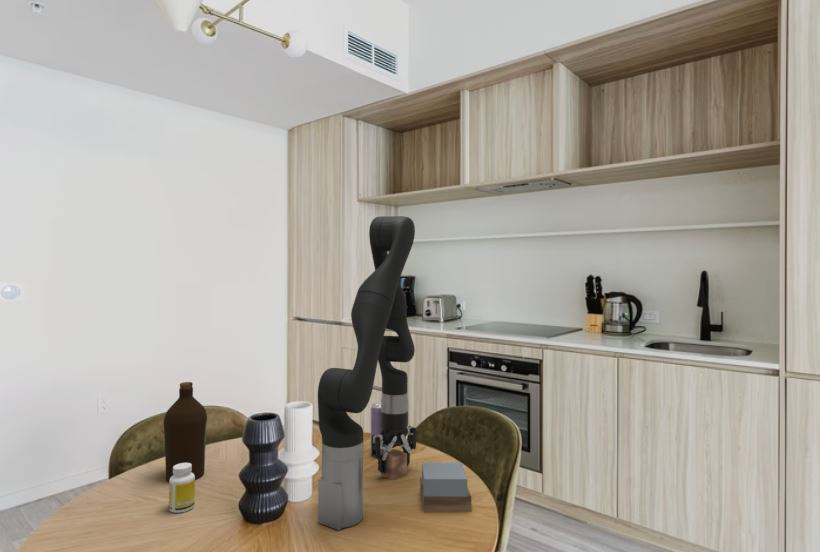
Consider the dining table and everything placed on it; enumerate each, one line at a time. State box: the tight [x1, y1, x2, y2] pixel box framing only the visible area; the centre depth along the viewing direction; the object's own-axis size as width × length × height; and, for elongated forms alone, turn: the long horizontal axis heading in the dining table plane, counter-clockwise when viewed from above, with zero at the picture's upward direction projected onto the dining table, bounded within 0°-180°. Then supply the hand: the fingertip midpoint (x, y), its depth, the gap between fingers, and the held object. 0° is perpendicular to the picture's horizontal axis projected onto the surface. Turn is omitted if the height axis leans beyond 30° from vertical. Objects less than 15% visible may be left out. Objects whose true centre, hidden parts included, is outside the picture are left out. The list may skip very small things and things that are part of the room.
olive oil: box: [163, 381, 208, 482], centre depth 130 cm, size 11×11×25 cm
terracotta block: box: [380, 448, 408, 481], centre depth 132 cm, size 5×5×6 cm
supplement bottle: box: [168, 463, 196, 514], centre depth 112 cm, size 5×5×10 cm
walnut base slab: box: [419, 476, 472, 513], centre depth 117 cm, size 11×11×4 cm
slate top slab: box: [421, 462, 468, 497], centre depth 116 cm, size 10×10×4 cm
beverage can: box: [370, 402, 388, 456], centre depth 147 cm, size 6×6×15 cm
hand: (394, 469), depth 132 cm, fingers open, 7 cm apart
